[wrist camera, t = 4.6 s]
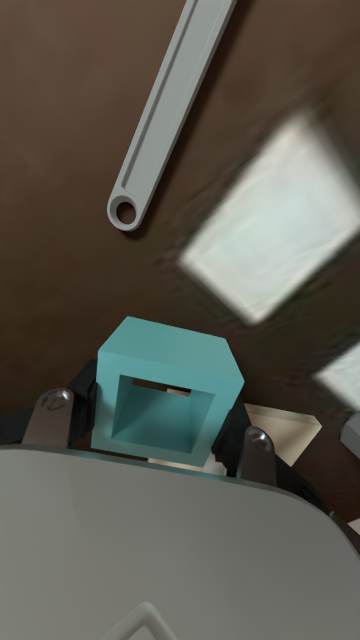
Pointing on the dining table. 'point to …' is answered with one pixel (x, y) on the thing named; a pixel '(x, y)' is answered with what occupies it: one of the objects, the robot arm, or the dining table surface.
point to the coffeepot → (351, 434)
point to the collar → (162, 407)
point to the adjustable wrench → (169, 104)
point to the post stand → (280, 425)
